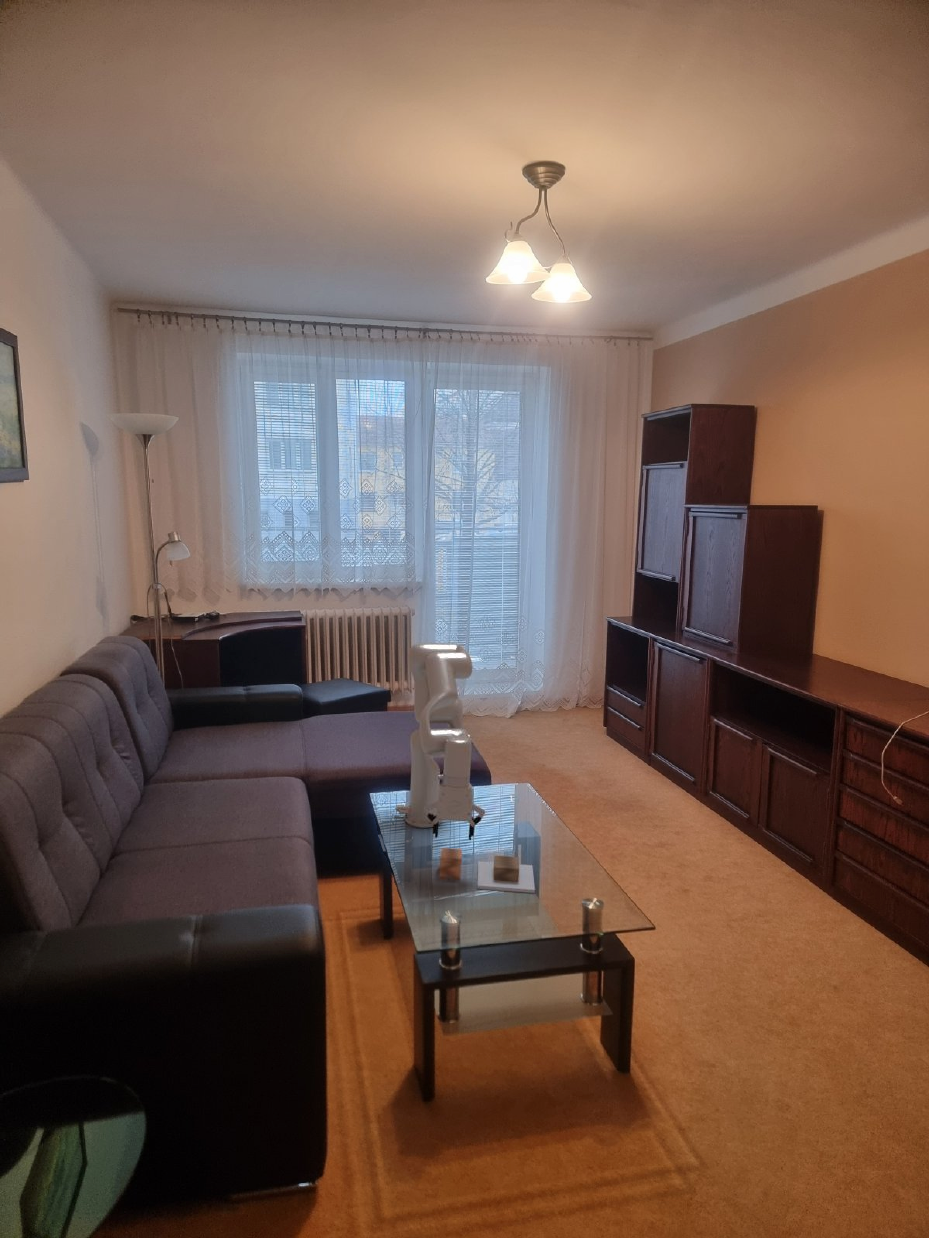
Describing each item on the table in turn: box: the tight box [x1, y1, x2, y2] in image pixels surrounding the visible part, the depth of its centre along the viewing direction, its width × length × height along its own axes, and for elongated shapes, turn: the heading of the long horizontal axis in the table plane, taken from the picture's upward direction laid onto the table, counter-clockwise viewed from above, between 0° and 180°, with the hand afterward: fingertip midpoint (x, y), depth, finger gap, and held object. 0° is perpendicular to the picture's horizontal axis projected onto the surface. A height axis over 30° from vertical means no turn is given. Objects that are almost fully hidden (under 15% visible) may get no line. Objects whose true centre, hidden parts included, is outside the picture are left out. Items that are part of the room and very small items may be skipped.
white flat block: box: [476, 855, 536, 894], centre depth 219 cm, size 16×14×5 cm
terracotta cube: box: [438, 847, 463, 880], centre depth 220 cm, size 6×6×6 cm
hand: (453, 836), depth 218 cm, fingers open, 9 cm apart
